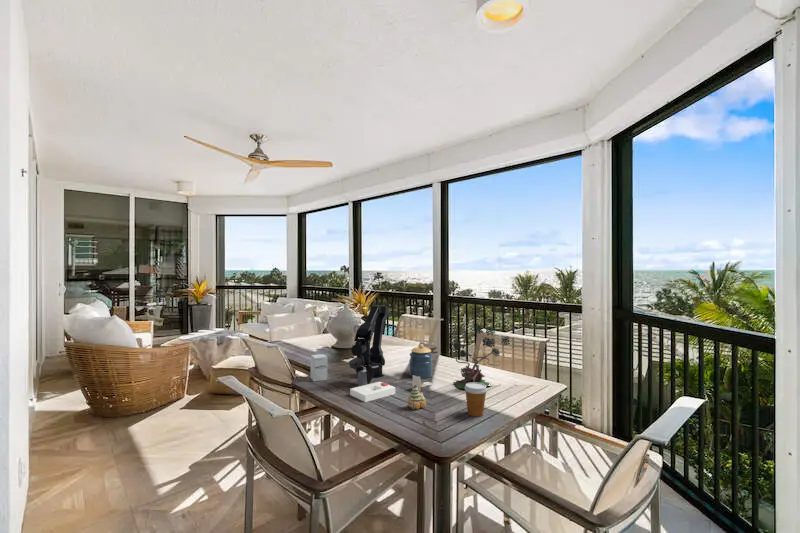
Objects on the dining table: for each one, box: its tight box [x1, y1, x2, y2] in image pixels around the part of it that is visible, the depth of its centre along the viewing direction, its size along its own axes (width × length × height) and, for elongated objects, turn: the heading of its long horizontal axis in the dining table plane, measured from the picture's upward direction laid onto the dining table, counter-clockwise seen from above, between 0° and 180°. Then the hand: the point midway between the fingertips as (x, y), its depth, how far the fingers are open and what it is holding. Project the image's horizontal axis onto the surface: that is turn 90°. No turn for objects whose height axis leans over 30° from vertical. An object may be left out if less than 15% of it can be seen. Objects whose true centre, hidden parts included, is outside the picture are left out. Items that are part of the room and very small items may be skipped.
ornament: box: [406, 385, 427, 410], centre depth 171 cm, size 8×6×10 cm
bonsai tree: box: [452, 325, 511, 390], centre depth 201 cm, size 35×24×32 cm
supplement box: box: [310, 353, 329, 382], centre depth 209 cm, size 7×7×13 cm
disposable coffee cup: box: [463, 382, 488, 417], centre depth 165 cm, size 10×10×12 cm
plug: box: [357, 369, 368, 387], centre depth 201 cm, size 5×4×7 cm
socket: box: [349, 381, 396, 403], centre depth 187 cm, size 18×12×4 cm, turn 132°
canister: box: [408, 343, 434, 379], centre depth 219 cm, size 13×13×18 cm
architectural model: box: [411, 376, 428, 392], centre depth 194 cm, size 3×7×7 cm, turn 41°
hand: (364, 382), depth 201 cm, fingers open, 7 cm apart
